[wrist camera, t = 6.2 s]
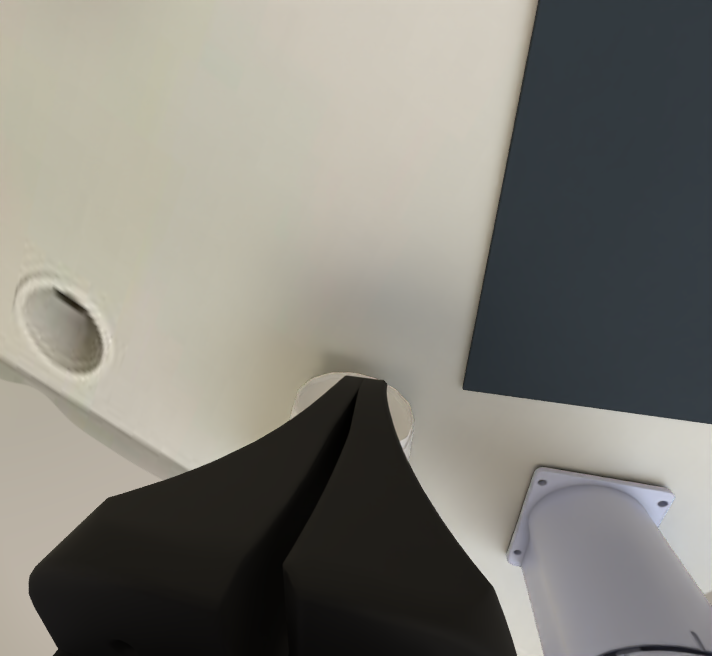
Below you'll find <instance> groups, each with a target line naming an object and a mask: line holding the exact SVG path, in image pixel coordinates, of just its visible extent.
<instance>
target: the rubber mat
mask: <svg viewBox="0 0 712 656" xmlns="http://www.w3.org/2000/svg"><path fill="white" fill-rule="evenodd" d="M463 390H469V391H476V392H483V393H491V394H498V395H505V396H512V397H519V398H527V399H534V400H541V401H548V402H556V403H563V404H570V405H577V406H584V407H592V408H599V409H606V410H613V411H621V412H628V413H635V414H642V415H649V416H657V417H664V418H671V419H678V420H686V421H693V422H700V423H707V424H712V0H539V1H538V6H537V11H536V16H535V22H534V27H533V32H532V37H531V42H530V47H529V52H528V57H527V62H526V67H525V72H524V77H523V83H522V88H521V93H520V98H519V103H518V108H517V113H516V118H515V123H514V128H513V133H512V139H511V144H510V149H509V154H508V159H507V164H506V169H505V174H504V179H503V184H502V189H501V195H500V200H499V205H498V210H497V215H496V220H495V225H494V230H493V235H492V240H491V245H490V250H489V256H488V261H487V266H486V271H485V276H484V281H483V286H482V291H481V296H480V301H479V306H478V312H477V317H476V322H475V327H474V332H473V337H472V342H471V347H470V352H469V357H468V362H467V367H466V373H465V378H464V383H463Z"/></svg>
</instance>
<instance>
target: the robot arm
mask: <svg viewBox="0 0 712 656" xmlns="http://www.w3.org/2000/svg"><path fill="white" fill-rule="evenodd" d="M539 480H543V481H539ZM674 499H675V495H674V494H673V492H672V491H671V490H670V489H668V488H665V487H659V486H653V485H647V484H641V483H635V482H629V481H623V480H617V479H612V478H606V477H600V476H594V475H588V474H582V473H576V472H570V471H564V470H558V469H552V468H546V467H540V468H537V469H536V470H535V472H534V474H533V477H532V480H531V483H530V486H529V489H528V492H527V495H526V498H525V501H524V504H523V507H522V510H521V513H520V516H519V519H518V522H517V525H516V528H515V531H514V534H513V537H512V540H511V543H510V546H509V549H508V552H507V555H506V557H507V561H508V562H509V563H510V564H512V565H516V566H520V567H522V571H523V575H524V579H525V583H526V587H527V591H528V595H529V599H530V603H531V606H532V610H533V614H534V618H535V622H536V626H537V630H538V634H539V638H540V642H541V646H542V650H543V654H544V656H712V605H711V604H710V603H709V601H708V600H707V598H706V597H705V595H704V594H703V592H702V591H701V590H700V588H699V587H698V585H697V584H696V582H695V581H694V579H693V578H692V577H691V575H690V574H689V572H688V571H687V569H686V568H685V566H684V565H683V564H682V562H681V561H680V559H679V558H678V556H677V555H676V553H675V552H674V551H673V549H672V548H671V546H670V545H669V543H668V542H667V540H666V539H665V538H664V536H663V535H662V533H661V532H660V530H659V529H658V527H659V525H660V523H661V522H662V520H663V518H664V516H665V515H666V513H667V511H668V510H669V508H670V506H671V504H672V503H673V501H674ZM29 596H30V598H31V600H32V603H33V605H34V607H35V609H36V611H37V613H38V614H39V616H40V618H41V619H42V621H43V623H44V625H45V626H46V628H47V630H48V632H49V634H50V635H51V637H52V639H53V640H54V642H55V644H56V646H57V647H58V650H57V651H56V653H55V654H54V655H53V656H517V654H516V650H515V647H514V643H513V640H512V637H511V634H510V631H509V628H508V625H507V622H506V619H505V616H504V613H503V611H502V608H501V605H500V603H499V600H498V597H497V595H496V592H495V590H494V587H493V586H492V585H491V584H490V583H489V581H488V580H487V579H486V578H485V576H484V575H483V574H482V573H481V571H480V570H479V569H478V568H477V567H476V565H475V564H474V563H473V561H472V560H471V559H470V558H469V556H468V555H467V554H466V552H465V551H464V550H463V548H462V547H461V546H460V545H459V543H458V542H457V540H456V539H455V538H454V536H453V535H452V533H451V532H450V531H449V529H448V528H447V526H446V525H445V523H444V522H443V521H442V519H441V517H440V516H439V514H438V513H437V511H436V509H435V508H434V506H433V505H432V503H431V502H430V500H429V498H428V497H427V495H426V494H425V492H424V490H423V489H422V487H421V485H420V483H419V481H418V480H417V478H416V476H415V474H414V472H413V470H412V468H411V466H410V464H409V462H408V460H407V458H406V455H405V453H404V451H403V448H402V446H401V444H400V441H399V438H398V436H397V433H396V430H395V427H394V424H393V420H392V417H391V413H390V409H389V405H388V399H387V383H386V382H385V381H384V380H378V379H371V378H363V377H356V376H349V375H346V376H344V377H343V378H342V379H340V380H339V381H338V382H337V383H336V384H335V385H334V386H333V387H331V388H330V389H329V390H328V391H327V392H326V393H324V394H323V395H322V396H321V397H320V398H318V399H317V400H316V401H315V402H313V403H312V404H311V405H310V406H308V407H307V408H306V409H305V410H303V411H302V412H300V413H299V414H298V415H296V416H295V417H294V418H292V419H291V420H289V421H288V422H287V423H285V424H284V425H282V426H281V427H279V428H277V429H276V430H274V431H272V432H271V433H269V434H267V435H265V436H264V437H262V438H260V439H259V440H257V441H255V442H253V443H251V444H249V445H247V446H245V447H243V448H241V449H239V450H237V451H235V452H232V453H230V454H228V455H226V456H224V457H222V458H220V459H218V460H215V461H213V462H211V463H208V464H206V465H203V466H201V467H199V468H196V469H194V470H191V471H188V472H186V473H183V474H180V475H178V476H175V477H172V478H169V479H167V480H164V481H161V482H157V483H154V484H151V485H148V486H145V487H142V488H139V489H135V490H132V491H129V492H126V493H123V494H119V495H116V496H112V497H109V498H107V499H106V500H105V501H104V502H103V503H102V504H101V505H100V506H99V507H97V508H96V509H95V510H94V511H93V512H92V513H91V514H90V515H89V516H88V517H87V518H86V519H85V520H84V521H83V522H82V523H81V524H80V525H79V526H77V527H76V528H75V529H74V530H73V531H72V532H71V533H70V534H69V535H68V536H67V537H66V538H65V539H64V540H63V541H62V542H61V543H60V544H59V545H58V546H56V547H55V548H54V549H53V550H52V551H51V552H50V553H49V554H48V555H47V556H46V557H45V558H44V559H43V560H42V561H41V562H40V563H39V564H38V565H37V566H36V567H35V568H34V570H33V571H32V573H31V575H30V577H29Z"/></svg>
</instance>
